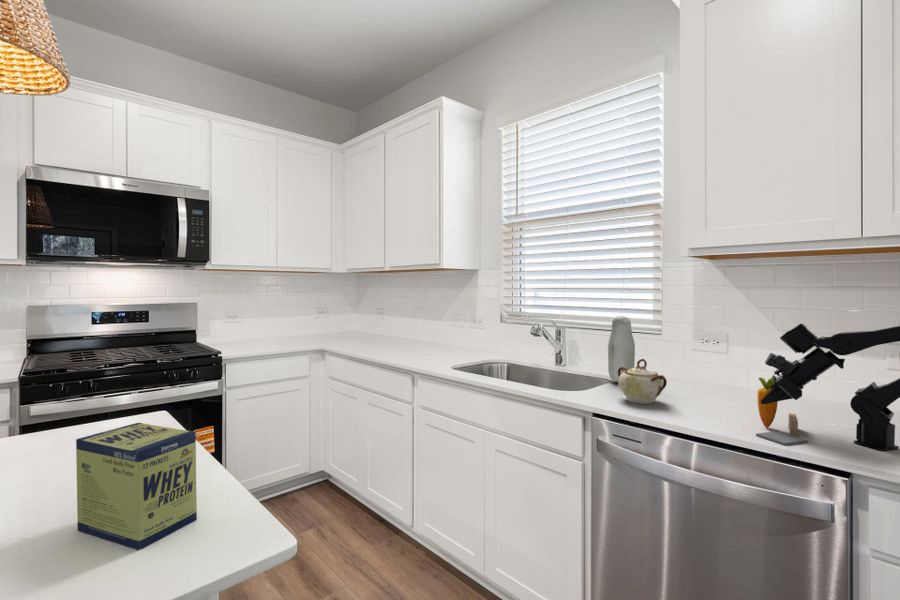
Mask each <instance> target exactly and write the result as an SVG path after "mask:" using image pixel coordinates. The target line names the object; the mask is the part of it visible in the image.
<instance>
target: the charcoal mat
mask: <svg viewBox="0 0 900 600" xmlns="http://www.w3.org/2000/svg"><path fill="white" fill-rule="evenodd" d="M755 437H759V438H761V439H764V440H768V441H770V442H773V443H776V444H779V445H782V446H790V445H791V446H792V445H797V444H805V443H808V439H805V438H803V437H799V436H793V435H790V433H786V432H783V431H780V430H776V431H766V432H758V433H755Z"/></svg>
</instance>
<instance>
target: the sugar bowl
mask: <svg viewBox="0 0 900 600" xmlns="http://www.w3.org/2000/svg"><path fill="white" fill-rule="evenodd" d="M642 362H643V364H644V365H641V366H640V363H642ZM647 363H648V362H647V360H646V359H645V358H641V359H639V360H638V361H637V362H636V367H634V368H632V369H627V368H624V367H620V368H619V369H618V375H619V380H618V383H617V384H618V387H619V389H620V391H621V392H622V394H623V395H624V396H625V397H626V399H627V401H628V402H630V403H634V404H641V405H649V404H650V405H651V404H653V403H654V402H655V401H656V399H657V398H658V397H659V396H661V393H662V392H663V391H664V389H665V388H666V386H667V383H668V382H667V378H666V377H665V376H664V375H662V374H661V375H660V374H659V373H658V372H656V371H654V370H652V369H650V368H647V367H648V366H647ZM621 370H623V371H622V372H621V374H620V371H621Z"/></svg>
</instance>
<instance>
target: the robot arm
mask: <svg viewBox="0 0 900 600" xmlns="http://www.w3.org/2000/svg"><path fill="white" fill-rule="evenodd" d="M779 339H780V340H781V341H782V342H783V343H784V344H785V345H786V346H788V348H789V349H791V350H792V351H793V352H794V353H795V354H798V353H799V354H800V353H801V354H802V355H804V354H806V353H807V352H809V351H810V350H811V349H813V348H814V347H815V348H814V349H813V350H812V351H810V352H809V353H808V354H806V355H804V356H803V357H802V358H800V359H799V360H798V359H795V360H794V361H790V360H788V359H786V356H782V355H781V354H774V353H772V352H770V353H769V355H768V356H767V358H766V360H765V361H764V364H765V365H767V366H769V367H772V368H775V369H776V370H774V372H773V373H774V374H773V375H772V376H774V377H775V379H774V382H773V383H774V385H773V386H772V387H771V389H772V390H771V391H770V392H769V393H768V394H767V395H766V396H765V397H764V398H763V399H762V400H761V403H762V404H768V403H772V402H777V401H778V402H781V401H786V400H795V401H797V400H799V399H800V398H802V397H803V389H804V386H806V385H807V384H808V383H811V382H812V381H816V380H817V379H818V377H819V376H820V375H822V374H824V373H825V372H826V371H828V370H830V368H832V367H833V366H835V365H836V366H837V367H838V368H840V369H844V368H845V367H844V365H845V364H844V363H845V361H846V359H845V358H839V357H838V356H848V355H851V354H855V353H857V352H861V351H864V350H865V349H866V350H867V349H869V348H872V347H875V346H880V345H885V344H891V343H898V342H900V325H896V326H892V327H891V326H890V327H886V328H880V329H876V330H862V331H861V330H860V331H859V330H858V331H843V332H837V333H836V334H833V335H832V336H821V337H818V336H817V335H816V334H814V333H813V332H812V331H811V330H810V329H808V327H807V326H806V325H805V324H804V323H799V324H797V326H795V327H793V328H792V329H790V330H788V331H786V332H785V333H784V334H782V335H781V336H780V338H779ZM822 348H823V349H822ZM824 349H826V350H828V351H824ZM776 375H777V376H776ZM854 394H855V395H853V397H852V398H851V399H850V408H851V409H852V411H853V412H854V413H855V414H857V415H858V416H859V418H858V423H856V429H855V430H856V431H855V439H856V440H853V443H854V444H857V445H861V446H865V447H868V448H870V449H874V450H877V451H889V450H896V449H899V448H900V447H899V446H898V445H895V439H896V437H895V436H896V424H894V423H891V421H892V419H893V417H894V415H895V414H894V412H893V411H892V410H891V409H890V408H888V407H889V406H890V405H892V404H893V403H895V401H896V400H898V399H900V377H898V378H897V379H894V380H892V381H891V382H889V383H885V384H882V385H877V384H876V382H875V381H872V382H871V383H870V384H868V385H867V386H865V387H863V388H858V389H857V390H856V391H855V392H854Z"/></svg>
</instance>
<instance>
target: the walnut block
mask: <svg viewBox="0 0 900 600" xmlns="http://www.w3.org/2000/svg"><path fill="white" fill-rule="evenodd" d="M787 417H788V423H787V425H788V426H787V428H788V432H789V435H793V436H796V437H799V436H798V433H799V430H798V429H799V421H798V418H797V414H796V413H788V416H787Z"/></svg>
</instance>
